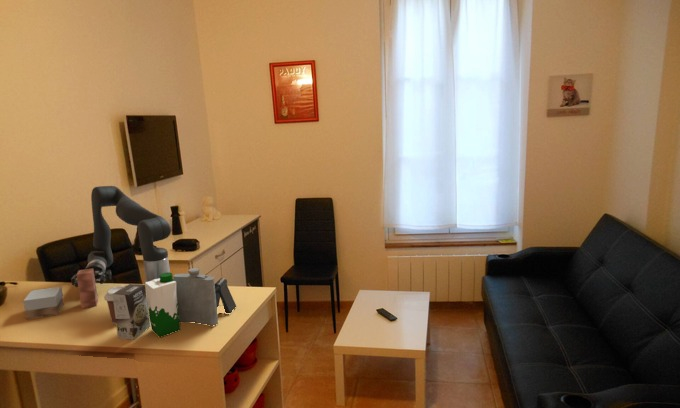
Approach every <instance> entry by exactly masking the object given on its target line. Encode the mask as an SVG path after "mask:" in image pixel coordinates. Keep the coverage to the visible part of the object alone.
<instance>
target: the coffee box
mask: <svg viewBox="0 0 680 408" xmlns="http://www.w3.org/2000/svg"><path fill="white" fill-rule="evenodd" d="M124 286H125V287H124V288H122V289H120V290H118V291H117V292H115V293H113V302H114V310H115V318H116V324H115V326H116V331H117V332H116V333H117V338H118V339H125V340H133V341H134V340H135V339H137V338H138V337H139V336H141V335H142V334H143V333H145V330H146V329H147V330H149V329H150V328H149V327H151V323H150V318H149V310H148V302H147V294H146V286H145V284H142V283H141V284H140V283H139V284H138V283H129V284H126V285H124ZM147 330H146V331H147Z"/></svg>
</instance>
